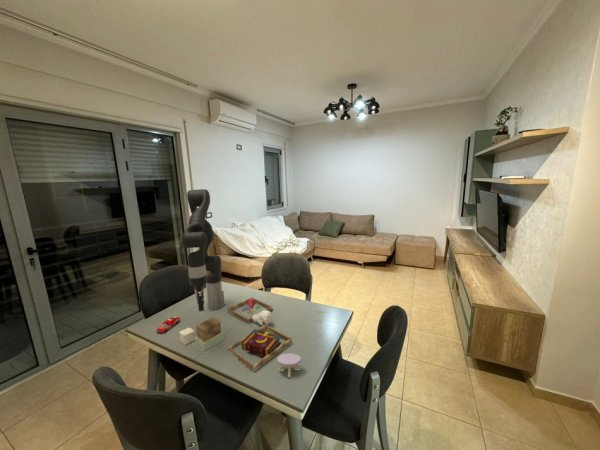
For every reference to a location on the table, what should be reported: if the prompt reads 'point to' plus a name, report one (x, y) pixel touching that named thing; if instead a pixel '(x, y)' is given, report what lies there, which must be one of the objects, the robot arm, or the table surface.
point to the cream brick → (187, 335)
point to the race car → (168, 324)
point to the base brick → (209, 342)
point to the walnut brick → (208, 329)
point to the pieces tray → (246, 320)
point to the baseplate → (211, 347)
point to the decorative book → (261, 343)
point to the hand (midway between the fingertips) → (200, 306)
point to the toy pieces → (250, 303)
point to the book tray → (266, 358)
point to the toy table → (288, 361)
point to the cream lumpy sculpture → (263, 317)
